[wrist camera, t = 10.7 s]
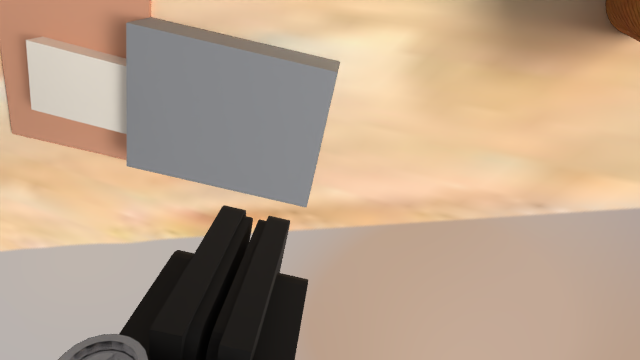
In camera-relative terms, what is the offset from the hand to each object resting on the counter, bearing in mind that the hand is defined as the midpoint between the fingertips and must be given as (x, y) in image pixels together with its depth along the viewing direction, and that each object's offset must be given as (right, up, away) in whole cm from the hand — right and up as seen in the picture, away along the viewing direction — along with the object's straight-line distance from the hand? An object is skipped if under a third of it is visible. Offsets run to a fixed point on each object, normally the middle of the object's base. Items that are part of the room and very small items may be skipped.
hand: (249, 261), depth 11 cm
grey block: (-6, +8, +27) cm, 29 cm away
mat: (-20, +12, +27) cm, 35 cm away
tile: (-18, +11, +27) cm, 34 cm away
